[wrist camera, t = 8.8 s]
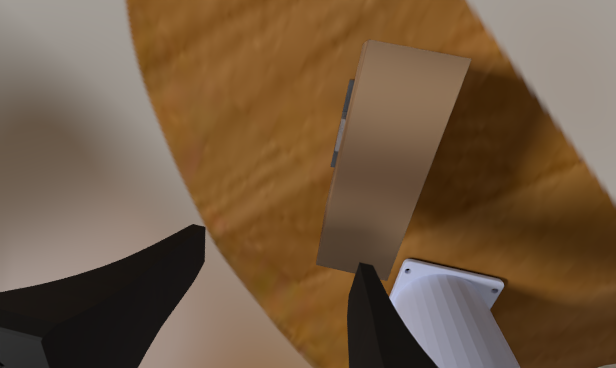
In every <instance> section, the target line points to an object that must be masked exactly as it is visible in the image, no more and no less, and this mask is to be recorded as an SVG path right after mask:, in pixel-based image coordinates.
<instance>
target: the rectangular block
mask: <svg viewBox="0 0 616 368" xmlns="http://www.w3.org/2000/svg"><path fill="white" fill-rule="evenodd" d="M470 62H471V59H470V58H464V57H459V56H454V55H448V54H443V53H438V52H433V51H427V50H422V49H417V48H411V47H406V46H401V45H396V44H390V43H385V42H380V41H374V40H368V41H366V42H365V43H364V44H363V46H362V51H361V55H360V60H359V64H358V68H357V73H356V77H355V81H354V86H353V90H352V94H351V99H350V103H349V107H348V112H347V116H346V121H345V125H344V129H343V134H342V138H341V142H340V147H339V151H338V155H337V160H336V164H335V169H334V173H333V177H332V182H331V186H330V190H329V195H328V199H327V203H326V208H325V214H324V220H323V226H322V232H321V238H320V244H319V250H318V256H317V262H316V265H320V266H324V267H329V268H333V269H337V270H342V271H346V272H350V273H355V274H356V271H357V268H358V265H359V262H361V263H365V264H370V265H373V266H374V268H375V270H376V272H377V274H378V277H379V279H381V280H385V281H387V280H388V277H389V274H390V272H391V269H392V266H393V264H394V261H395V259H396V256H397V253H398V251H399V248H400V246H401V243H402V240H403V238H404V235H405V232H406V230H407V227H408V225H409V222H410V219H411V217H412V214H413V211H414V209H415V206H416V204H417V201H418V198H419V196H420V193H421V190H422V188H423V185H424V183H425V180H426V177H427V175H428V172H429V170H430V167H431V164H432V162H433V159H434V156H435V154H436V151H437V149H438V146H439V143H440V141H441V138H442V135H443V133H444V130H445V128H446V125H447V122H448V120H449V117H450V114H451V112H452V109H453V107H454V104H455V101H456V99H457V96H458V94H459V91H460V88H461V86H462V83H463V80H464V78H465V75H466V73H467V70H468V67H469V65H470Z"/></svg>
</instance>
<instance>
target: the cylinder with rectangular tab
mask: <svg viewBox="0 0 616 368" xmlns="http://www.w3.org/2000/svg"><path fill="white" fill-rule="evenodd" d="M597 368H616V364H611V365H604V366H601V367H597Z"/></svg>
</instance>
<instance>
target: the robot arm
mask: <svg viewBox="0 0 616 368" xmlns="http://www.w3.org/2000/svg"><path fill="white" fill-rule="evenodd" d="M204 262H205V227H203V226H198V225H195V224H192V225H190V226H188V227H186V228H185V229H182V230H181V231H179V232H177V233H175V234H173V235H171V236H169V237H167V238H165V239H164V240H162V241H160V242H158V243H156V244H154V245H152V246H150V247H148V248H146V249H143V250H141V251H139V252H137V253H135V254H133V255H131V256H128V257H126V258H124V259H121V260H119V261H116V262H113V263H111V264H108V265H105V266H103V267H100V268H97V269H94V270H90V271H87V272H84V273H81V274H78V275H75V276H71V277H68V278H64V279H61V280H56V281H52V282H48V283H44V284H40V285H35V286H30V287H26V288H20V289H15V290H10V291H5V292H0V368H138V366H139V365H140V363H141V361H142V359H143V357H144V356H145V354H146V352H147V350H148V349H149V347H150V345H151V343H152V342H153V340H154V338H155V337H156V335H157V333H158V331H159V330H160V328H161V326H162V325H163V324H164V322H165V321H166V320H167V318H168V317H169V315H170V314H171V312H172V311H173V310H174V309H175V307H176V306H177V304H178V303H179V302H180V300H181V299H182V297H183V296H184V294H185V293H186V292H187V290H188V289H189V287H190V286H191V285H192V283H193V282H194V280H195V278H196V277H197V275H198V273H199V271H200V269H201V267H202V266H203V264H204ZM406 269H410V270H408V271H407V270H406ZM503 287H504V283H503V282H502V281H501V280H500V279H498V278H493V277H489V276H484V275H480V274H476V273H471V272H467V271H462V270H458V269H453V268H449V267H445V266H440V265H436V264H431V263H427V262H423V261H418V260H414V259H406V260H405V261H404V262H403V264H402V267H401V269H400V272H399V274H398V277H397V279H396V282H395V284H394V287H393V289H392V292H391V294H390V297H389V296H388V295H387V293H386V291H385V289H384V287H383V285H382V283H381V281H380V279H379V277H378V274H377V272H376V270H375V268H374V266H373V265H370V264H365V263H361V262H359V265H358V268H357V271H356V274H355V278H354V281H353V284H352V287H351V290H350V293H349V299H348V312H347V327H348V351H349V368H520V366H519V364H518V362H517V360H516V358H515V356H514V354H513V353H512V351H511V349H510V347H509V345H508V343H507V341H506V340H505V338H504V336H503V334H502V332H501V330H500V328H499V326H498V325H497V323H496V321H495V319H494V317H493V315H492V313H491V311H490V309H491V307H492V305H493V304H494V302H495V300H496V299H497V297H498V296H499V294H500V292H501V291H502V289H503ZM492 289H494V290H492Z"/></svg>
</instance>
